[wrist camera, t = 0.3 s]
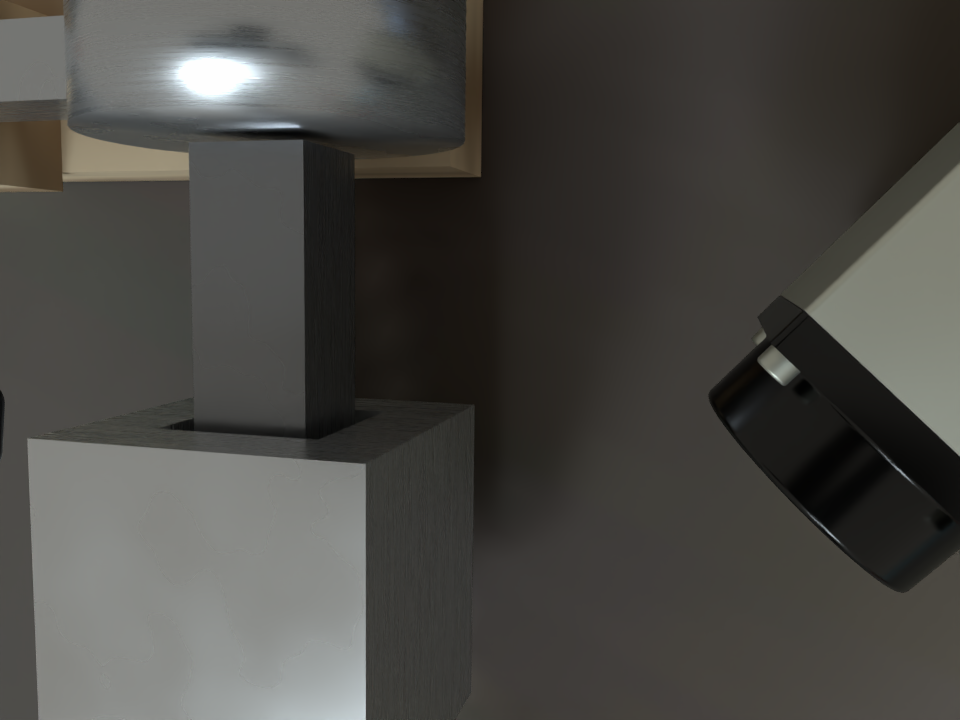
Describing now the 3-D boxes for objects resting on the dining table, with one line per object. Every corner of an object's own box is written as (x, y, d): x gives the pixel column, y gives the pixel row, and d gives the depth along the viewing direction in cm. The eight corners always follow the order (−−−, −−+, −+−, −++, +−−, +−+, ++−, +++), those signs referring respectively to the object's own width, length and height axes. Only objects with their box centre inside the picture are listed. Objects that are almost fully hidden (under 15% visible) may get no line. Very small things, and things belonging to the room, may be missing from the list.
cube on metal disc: (470, 724, 22) (365, 908, 16) (226, 688, 24) (43, 840, 18) (474, 404, 21) (365, 464, 15) (221, 390, 23) (27, 438, 17)
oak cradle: (480, 196, 24) (414, 178, 19) (-125, 200, 29) (-301, 186, 24) (484, -80, 23) (416, -173, 18) (-138, -25, 29) (-322, -87, 24)
